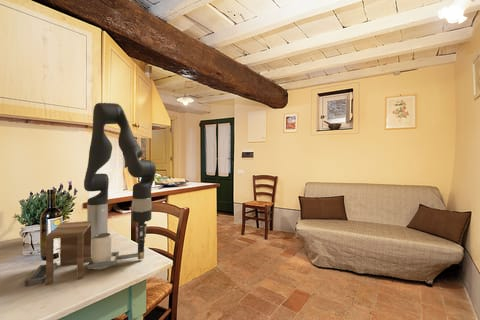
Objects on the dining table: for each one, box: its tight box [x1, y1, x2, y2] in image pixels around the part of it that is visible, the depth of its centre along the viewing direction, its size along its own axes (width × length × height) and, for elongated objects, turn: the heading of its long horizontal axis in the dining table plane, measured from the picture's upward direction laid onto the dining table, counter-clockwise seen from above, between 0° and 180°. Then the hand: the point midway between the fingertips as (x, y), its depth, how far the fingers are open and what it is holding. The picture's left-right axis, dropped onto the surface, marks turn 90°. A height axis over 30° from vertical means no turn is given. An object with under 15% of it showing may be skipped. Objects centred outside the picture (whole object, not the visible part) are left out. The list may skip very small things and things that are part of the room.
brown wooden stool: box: [45, 220, 93, 285], centre depth 84 cm, size 16×10×16 cm, turn 23°
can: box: [92, 232, 112, 271], centre depth 88 cm, size 6×6×12 cm
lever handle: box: [87, 239, 145, 270], centre depth 90 cm, size 9×19×10 cm, turn 113°
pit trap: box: [24, 262, 58, 287], centre depth 80 cm, size 12×5×2 cm, turn 23°
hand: (140, 250), depth 93 cm, fingers closed on lever handle, 2 cm apart
